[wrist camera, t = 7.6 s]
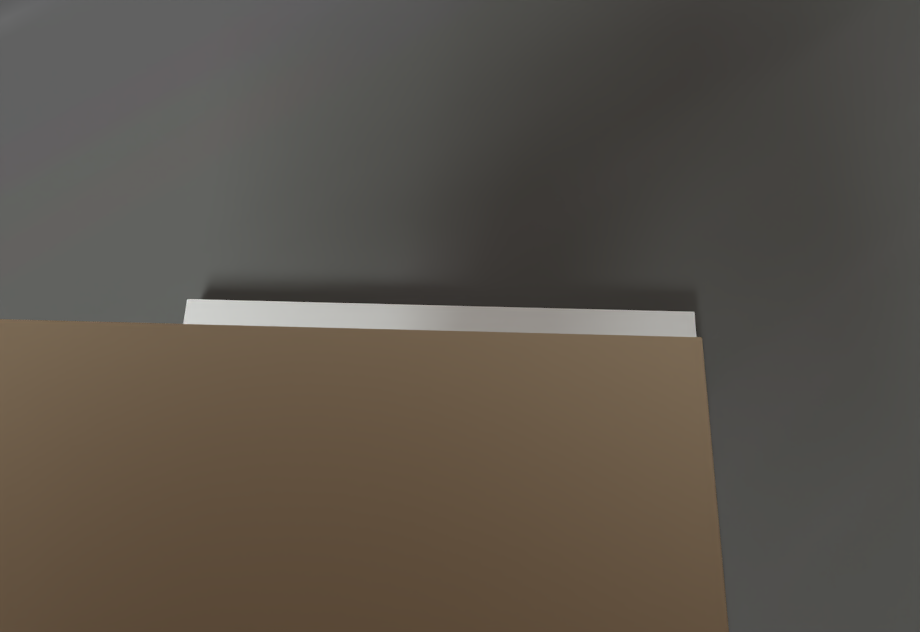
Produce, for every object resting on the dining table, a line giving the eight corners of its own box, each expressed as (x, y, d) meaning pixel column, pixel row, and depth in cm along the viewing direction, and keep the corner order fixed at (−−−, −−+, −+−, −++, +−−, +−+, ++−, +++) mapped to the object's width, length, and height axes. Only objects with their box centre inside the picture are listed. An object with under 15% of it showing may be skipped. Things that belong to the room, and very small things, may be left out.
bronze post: (509, 696, 14) (836, 1807, 2) (320, 689, 14) (-666, 1720, 2) (510, 499, 15) (703, 338, 3) (337, 495, 15) (-171, 316, 3)
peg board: (736, 928, 17) (777, 988, 14) (100, 904, 17) (46, 959, 15) (686, 319, 22) (711, 295, 19) (196, 307, 22) (167, 282, 20)
